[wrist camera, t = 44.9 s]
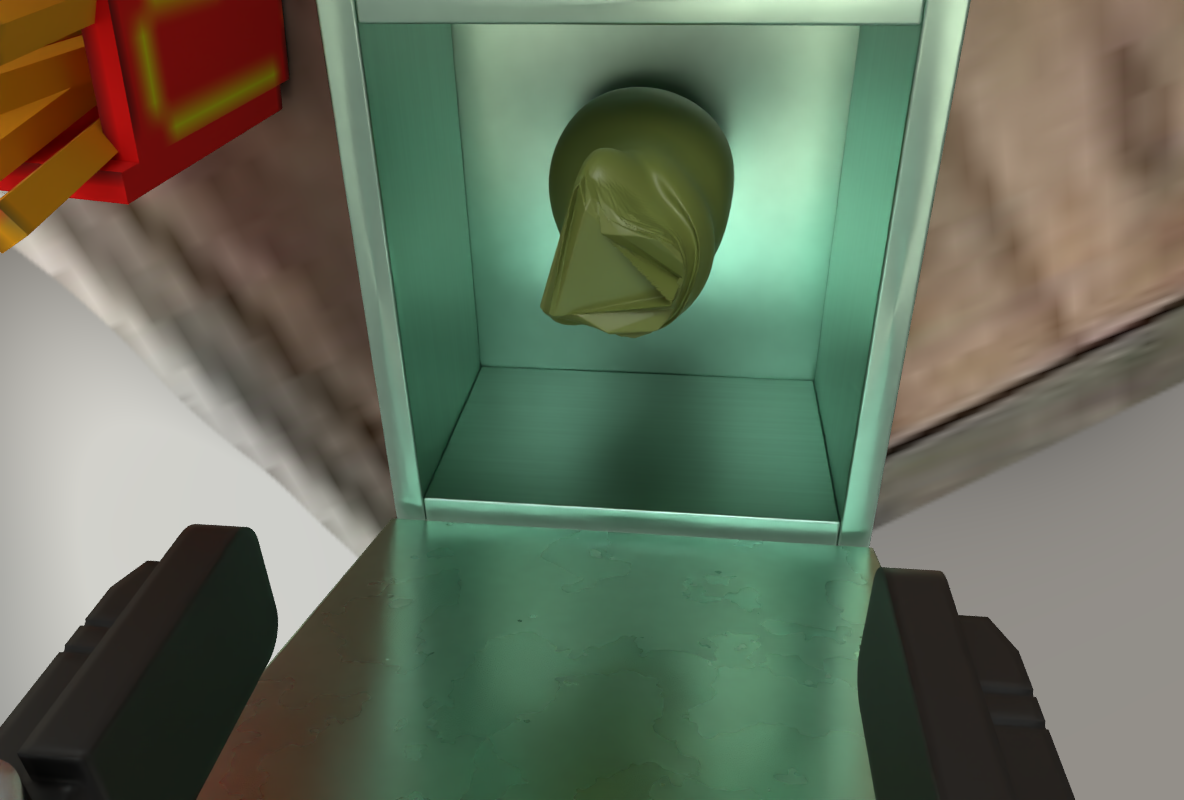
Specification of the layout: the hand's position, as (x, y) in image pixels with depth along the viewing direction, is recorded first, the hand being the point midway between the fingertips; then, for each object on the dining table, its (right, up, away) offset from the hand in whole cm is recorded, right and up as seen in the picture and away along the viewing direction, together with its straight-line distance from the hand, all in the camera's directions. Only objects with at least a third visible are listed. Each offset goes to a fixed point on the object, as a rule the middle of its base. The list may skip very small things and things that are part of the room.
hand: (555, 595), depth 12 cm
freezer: (+2, +10, +18) cm, 21 cm away
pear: (+2, +10, +17) cm, 20 cm away
